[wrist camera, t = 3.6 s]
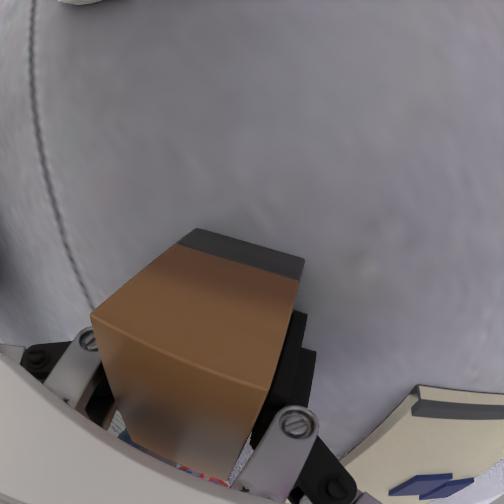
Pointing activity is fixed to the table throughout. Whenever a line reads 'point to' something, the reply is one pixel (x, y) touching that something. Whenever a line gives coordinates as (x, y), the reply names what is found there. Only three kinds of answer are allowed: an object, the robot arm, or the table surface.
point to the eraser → (197, 346)
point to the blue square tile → (420, 484)
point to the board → (429, 441)
